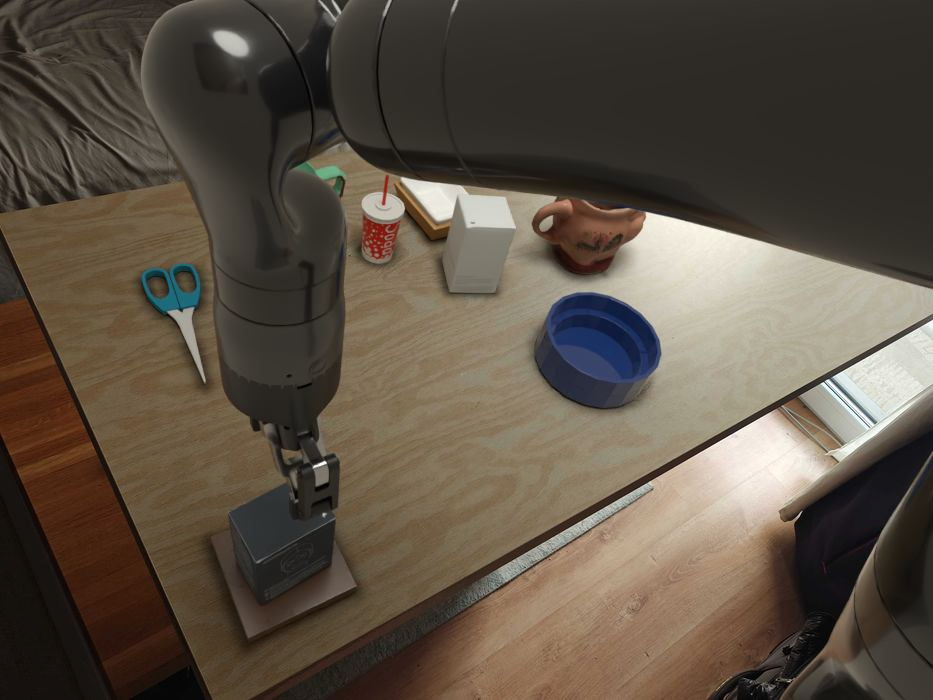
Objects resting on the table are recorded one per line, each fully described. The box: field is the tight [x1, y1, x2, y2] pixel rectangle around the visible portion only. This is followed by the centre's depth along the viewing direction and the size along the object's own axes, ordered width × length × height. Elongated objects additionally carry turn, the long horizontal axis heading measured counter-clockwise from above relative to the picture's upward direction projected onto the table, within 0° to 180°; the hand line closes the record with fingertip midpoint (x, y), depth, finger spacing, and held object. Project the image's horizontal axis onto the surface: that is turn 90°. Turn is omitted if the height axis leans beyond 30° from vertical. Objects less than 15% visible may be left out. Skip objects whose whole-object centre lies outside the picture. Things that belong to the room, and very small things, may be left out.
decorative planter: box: [531, 197, 647, 275], centre depth 103 cm, size 20×12×14 cm, turn 116°
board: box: [210, 528, 358, 644], centre depth 66 cm, size 11×11×2 cm
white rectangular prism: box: [441, 194, 517, 294], centre depth 96 cm, size 7×7×13 cm
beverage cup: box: [360, 174, 406, 265], centre depth 94 cm, size 6×6×14 cm
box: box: [227, 476, 337, 605], centre depth 62 cm, size 8×6×11 cm
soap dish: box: [393, 177, 470, 241], centre depth 106 cm, size 12×10×5 cm
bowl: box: [534, 291, 662, 409], centre depth 92 cm, size 16×16×6 cm
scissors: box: [141, 263, 207, 385], centre depth 83 cm, size 7×1×20 cm
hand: (284, 467), depth 52 cm, fingers open, 8 cm apart
